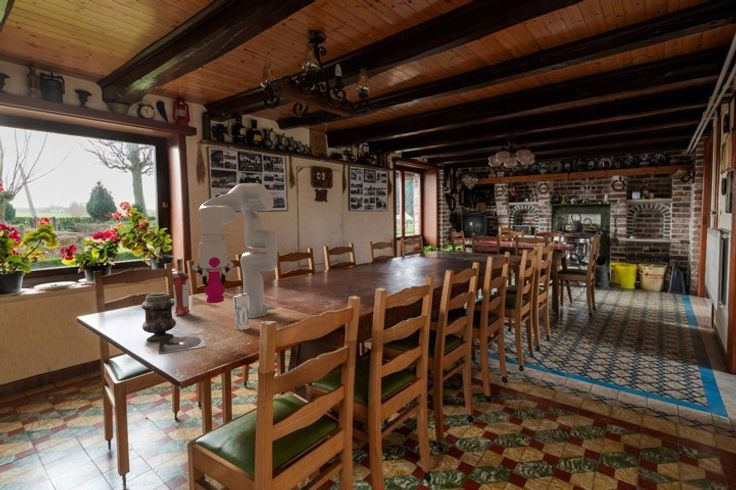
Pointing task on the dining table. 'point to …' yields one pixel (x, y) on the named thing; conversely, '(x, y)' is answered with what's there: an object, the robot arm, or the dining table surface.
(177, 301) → the liquor
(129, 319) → the dining table surface
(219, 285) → the pepper mill
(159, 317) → the stone urn vase
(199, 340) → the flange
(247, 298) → the white drink can
